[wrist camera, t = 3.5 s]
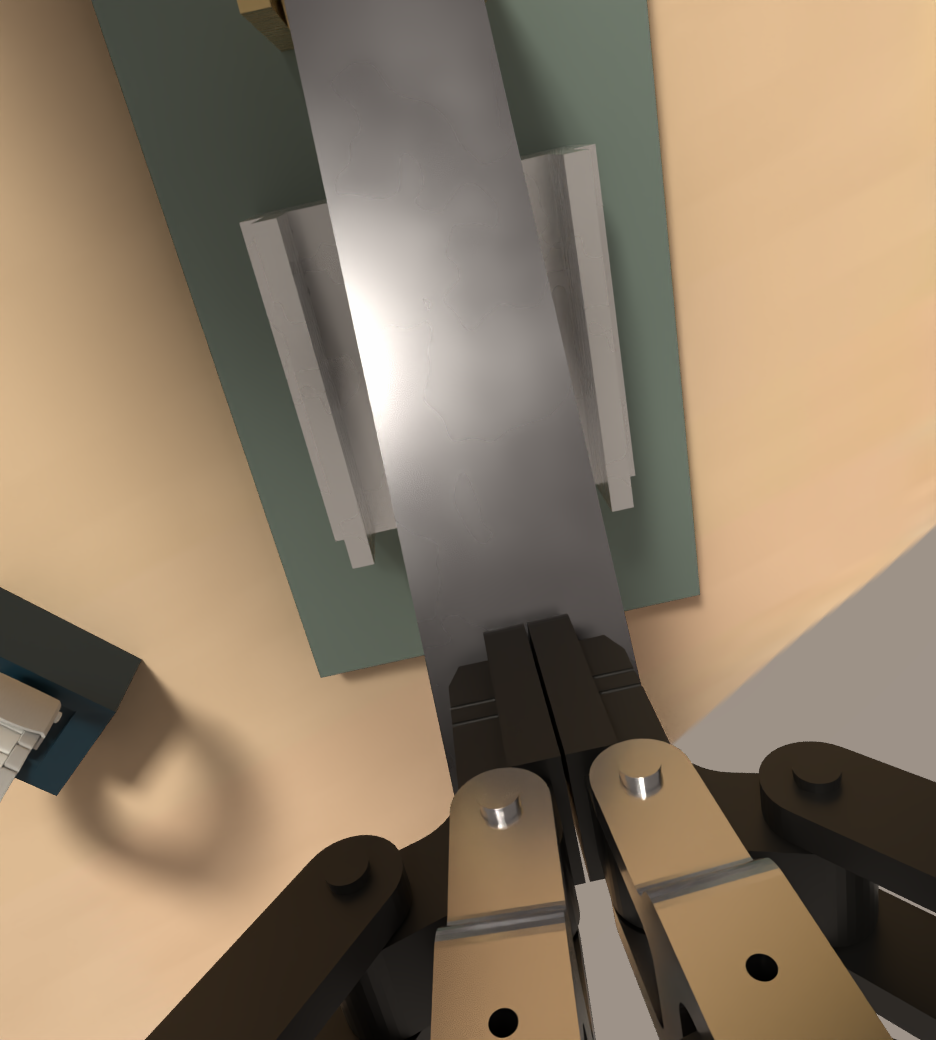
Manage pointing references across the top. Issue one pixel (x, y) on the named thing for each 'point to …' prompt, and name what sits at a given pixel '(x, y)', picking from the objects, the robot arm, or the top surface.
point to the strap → (454, 328)
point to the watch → (53, 693)
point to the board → (297, 180)
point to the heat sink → (337, 364)
